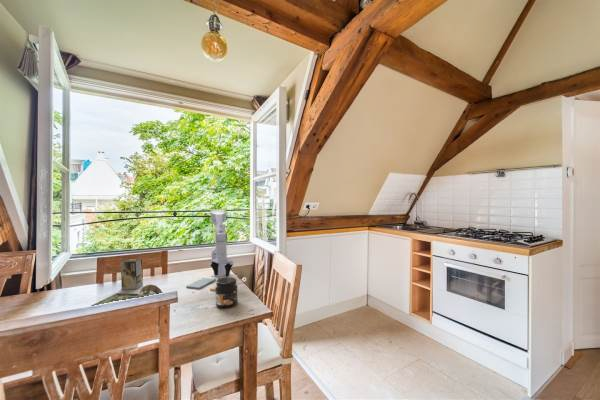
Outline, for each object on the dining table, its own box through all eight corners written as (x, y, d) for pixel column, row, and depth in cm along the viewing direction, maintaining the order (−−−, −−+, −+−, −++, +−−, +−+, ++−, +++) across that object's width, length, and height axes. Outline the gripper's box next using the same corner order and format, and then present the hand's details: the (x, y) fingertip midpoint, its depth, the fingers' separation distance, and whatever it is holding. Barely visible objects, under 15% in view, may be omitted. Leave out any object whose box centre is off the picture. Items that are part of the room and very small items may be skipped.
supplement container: (213, 309, 118) (212, 284, 118) (218, 300, 128) (218, 277, 128) (235, 308, 119) (235, 283, 118) (239, 299, 129) (239, 276, 129)
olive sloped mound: (172, 282, 136) (145, 297, 116) (172, 296, 136) (146, 313, 116) (116, 280, 139) (81, 295, 119) (116, 294, 139) (82, 311, 119)
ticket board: (203, 279, 160) (203, 277, 160) (215, 280, 158) (215, 278, 158) (186, 288, 146) (186, 285, 146) (199, 289, 143) (199, 287, 143)
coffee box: (143, 285, 152) (142, 258, 151) (136, 289, 145) (136, 261, 145) (128, 285, 151) (127, 259, 151) (120, 289, 145) (120, 261, 145)
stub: (225, 281, 155) (225, 273, 155) (233, 282, 154) (233, 274, 154) (210, 290, 141) (209, 281, 141) (218, 291, 139) (218, 282, 139)
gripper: (206, 253, 145) (207, 276, 146) (228, 255, 141) (228, 279, 141) (214, 250, 152) (214, 273, 152) (235, 252, 148) (235, 275, 148)
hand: (221, 275), depth 147 cm, fingers open, 7 cm apart
